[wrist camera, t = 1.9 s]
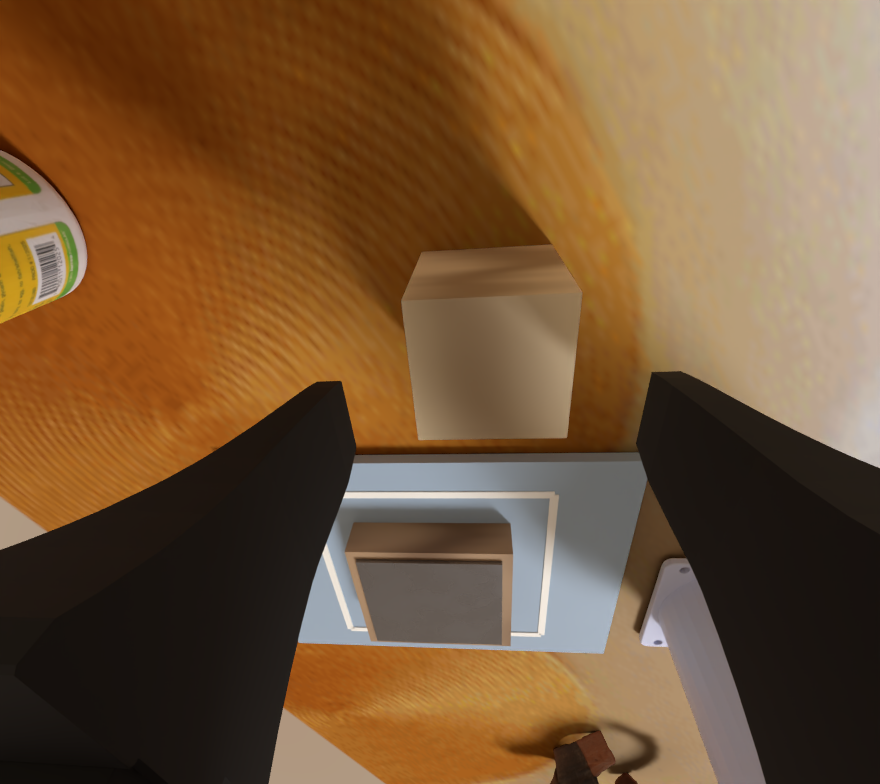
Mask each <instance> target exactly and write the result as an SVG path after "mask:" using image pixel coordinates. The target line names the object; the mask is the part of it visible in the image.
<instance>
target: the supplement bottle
mask: <svg viewBox="0 0 880 784" xmlns="http://www.w3.org/2000/svg"><path fill="white" fill-rule="evenodd" d="M86 266H87V249H86V243H85V239H84V236H83V233H82V230H81V228H80V225H79V223H78V221H77V219H76V218H75V216H74V214H73V213H72V211H71V210H70V208H69V207H68V205H67V204H66V202H65V201H64V200H63V198H62V197H61V196H60V195H59V194H58V193H57V192H56V190H55V189H54V188H53V187H52V186H51V185H50V184H49V183H48V182H47V181H46V180H45V179H44V178H43V177H41V176H40V175H39V174H38V173H37V172H36V171H34V170H33V169H32V168H30V167H29V166H28V165H26V164H25V163H23V162H22V161H20V160H19V159H17V158H15V157H13V156H12V155H10V154H8V153H6V152H4V151H2V150H0V323H2V322H5V321H7V320H9V319H12V318H14V317H17V316H19V315H21V314H24V313H26V312H28V311H31V310H33V309H36V308H38V307H40V306H43V305H45V304H47V303H50V302H52V301H54V300H56V299H58V298H61V297H63V296H65V295H67V294H68V293H70V292H71V291H73V290H74V289H75V288H76V287H77V286H78V285H79V283H80V282H81V280H82V278H83V276H84V274H85V270H86Z"/></svg>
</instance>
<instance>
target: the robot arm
mask: <svg viewBox="0 0 880 784" xmlns="http://www.w3.org/2000/svg"><path fill="white" fill-rule="evenodd" d="M636 444H637V448H638V451H639V454H640V457H641V461H642V464H643V467H644V470H645V473H646V476H647V479H648V481H649V483H650V486H651V488H652V490H653V492H654V494H655V496H656V498H657V500H658V502H659V504H660V506H661V508H662V510H663V512H664V514H665V516H666V518H667V520H668V522H669V524H670V526H671V528H672V530H673V532H674V534H675V536H676V538H677V540H678V542H679V544H680V546H681V548H682V550H683V552H684V554H685V556H686V558H670V559H667V560H665V561H664V562H663V564H662V566H661V569H660V572H659V575H658V578H657V582H656V585H655V588H654V591H653V594H652V597H651V600H650V603H649V606H648V609H647V613H646V616H645V619H644V622H643V625H642V628H641V631H640V634H639V639H640V642H641V644H642V645H645V646H659V647H668V648H669V650H670V653H671V656H672V659H673V661H674V664H675V667H676V670H677V672H678V675H679V678H680V680H681V683H682V686H683V689H684V691H685V694H686V697H687V699H688V702H689V705H690V708H691V710H692V713H693V716H694V718H695V721H696V724H697V727H698V729H699V732H700V735H701V738H702V740H703V743H704V746H705V748H706V751H707V754H708V757H709V759H710V762H711V765H712V767H713V770H714V773H715V776H716V778H717V781H718V784H880V468H878V467H875V466H873V465H870V464H868V463H866V462H863V461H861V460H858V459H856V458H853V457H851V456H849V455H847V454H844V453H842V452H840V451H838V450H835V449H833V448H831V447H829V446H827V445H825V444H823V443H820V442H818V441H816V440H814V439H812V438H810V437H808V436H806V435H804V434H802V433H800V432H797V431H795V430H793V429H791V428H789V427H787V426H785V425H783V424H781V423H780V422H778V421H776V420H774V419H772V418H770V417H768V416H766V415H764V414H762V413H760V412H758V411H757V410H755V409H753V408H751V407H749V406H747V405H745V404H743V403H742V402H740V401H738V400H736V399H734V398H732V397H730V396H729V395H727V394H725V393H723V392H721V391H719V390H718V389H716V388H714V387H712V386H710V385H708V384H706V383H704V382H702V381H700V380H698V379H696V378H694V377H692V376H690V375H688V374H686V373H683V372H681V371H678V372H652V374H651V379H650V383H649V388H648V392H647V397H646V401H645V406H644V410H643V415H642V419H641V424H640V428H639V433H638V437H637V442H636ZM355 451H356V443H355V439H354V434H353V430H352V426H351V421H350V417H349V412H348V408H347V404H346V399H345V395H344V391H343V386H342V382H341V381H326V382H316V383H314V384H312V385H311V386H309V387H307V388H306V389H304V390H303V391H302V392H300V393H299V394H297V395H296V396H294V397H293V398H292V399H290V400H289V401H287V402H286V403H285V404H283V405H282V406H281V407H279V408H278V409H276V410H275V411H274V412H272V413H271V414H269V415H268V416H267V417H265V418H264V419H262V420H261V421H260V422H258V423H257V424H255V425H254V426H252V427H251V428H249V429H248V430H246V431H245V432H243V433H242V434H240V435H239V436H237V437H236V438H234V439H233V440H231V441H230V442H228V443H227V444H225V445H224V446H222V447H220V448H219V449H217V450H216V451H214V452H213V453H211V454H209V455H208V456H206V457H204V458H203V459H201V460H199V461H198V462H196V463H194V464H192V465H191V466H189V467H187V468H185V469H183V470H182V471H180V472H178V473H176V474H174V475H172V476H171V477H169V478H167V479H165V480H163V481H161V482H159V483H157V484H155V485H153V486H151V487H149V488H147V489H145V490H143V491H141V492H138V493H136V494H134V495H132V496H130V497H128V498H126V499H124V500H122V501H120V502H117V503H115V504H113V505H111V506H109V507H107V508H105V509H102V510H100V511H98V512H96V513H93V514H91V515H89V516H86V517H84V518H81V519H79V520H77V521H74V522H72V523H70V524H67V525H65V526H62V527H60V528H57V529H55V530H52V531H49V532H47V533H45V534H42V535H39V536H37V537H34V538H32V539H29V540H26V541H24V542H21V543H19V544H16V545H13V546H10V547H8V548H5V549H2V550H0V784H268V783H269V778H270V772H271V767H272V761H273V756H274V751H275V745H276V740H277V734H278V729H279V724H280V720H281V715H282V710H283V705H284V701H285V696H286V691H287V686H288V682H289V677H290V672H291V668H292V664H293V659H294V655H295V651H296V647H297V642H298V638H299V634H300V630H301V625H302V621H303V618H304V614H305V610H306V606H307V602H308V598H309V594H310V591H311V587H312V583H313V580H314V577H315V574H316V571H317V567H318V564H319V562H320V559H321V556H322V553H323V551H324V548H325V545H326V543H327V540H328V537H329V535H330V532H331V529H332V527H333V524H334V521H335V519H336V516H337V513H338V511H339V508H340V505H341V503H342V500H343V497H344V494H345V492H346V489H347V486H348V483H349V479H350V475H351V471H352V466H353V461H354V456H355Z"/></svg>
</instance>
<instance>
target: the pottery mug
mask: <svg viewBox="0 0 880 784" xmlns="http://www.w3.org/2000/svg"><path fill="white" fill-rule="evenodd" d="M554 754H555V761H556V769H555V772H554V777H553V779H552V781H551V783H550V784H599V783H598V780H597V777H598V776H599V775H600V774H601V772H602V771H604V770H606V769H607V768H608V767H610V766H612V765H614V764H615V758H614V755H613V754H612V752H611V750H610V749H609V748H608V746H607V743H606V741H605V739H604V737H603V735H602V733H601V731H596V732H594V733H590V734H589V735H587V736H584V737H583V738H582V739H580V740H578V741H576V742H573V743H571V744H565V745H562V746H560V747H558V748H555V749H554ZM615 784H638V783H637V782H636V781H635V780H634V779H633V778H632V777H631V776H630V775H629V774H628V773H623V774H622V775H621V776H619V777H618V778H617V779H616V781H615Z"/></svg>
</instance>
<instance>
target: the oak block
mask: <svg viewBox="0 0 880 784" xmlns="http://www.w3.org/2000/svg"><path fill="white" fill-rule="evenodd" d="M582 293H583V292H582V291H581V289H580V288H579V286H578V285H577V283H576V281H575V280H574V278H573V277H572V275H571V273H570V272H569V270H568V269H567V267H566V266H565V264H564V262H563V261H562V259H561V258H560V256H559V254H558V253H557V251H556V250H555V248H554V247H553V245H552V244H549V245H532V246H514V247H496V248H479V249H461V250H443V251H426V252H421V255H420V257H419V260H418V262H417V264H416V267H415V269H414V271H413V274H412V276H411V278H410V281H409V283H408V285H407V288H406V290H405V293H404V295H403V297H402V300H401V305H402V313H403V321H404V329H405V337H406V345H407V353H408V361H409V368H410V376H411V384H412V392H413V400H414V408H415V416H416V424H417V432H418V440H451V439H531V438H567V433H568V424H569V414H570V405H571V396H572V386H573V377H574V368H575V358H576V349H577V340H578V330H579V321H580V312H581V303H582Z"/></svg>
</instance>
